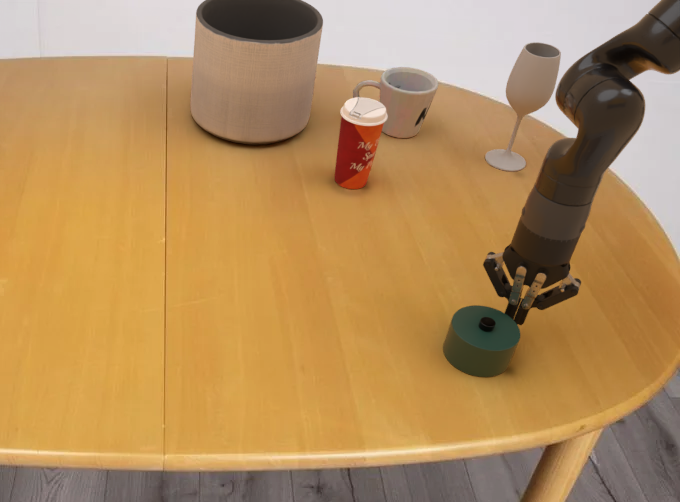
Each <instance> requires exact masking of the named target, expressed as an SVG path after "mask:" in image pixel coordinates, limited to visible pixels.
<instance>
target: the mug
mask: <svg viewBox="0 0 680 502" xmlns="http://www.w3.org/2000/svg"><path fill="white" fill-rule="evenodd" d="M379 81H380V82H379ZM379 81H376V80H374V79H367V80H362V81H360V82H359V83H357V84H356V86H355V87H354V89H353V90H352V98H356V97H360V91H361V90H362V89H363V88H364V87H373V88H376V89H377V90H379V102H380V103H382V104H383V105H384V106H385V108H386V113H387V120H386V121H385V122H384V125H383V128H382V132H381V133H384V134H386V135H387V136H390V137H393V138H398V139H409V138H412V137H415V136H417V135H418V134H419V132H420V130H421V127H422V126H423V123H424V122H425V119H426V116H427V115H428V112H429V110H430V107H431V104H432V102H433V100H434V98H435V96H436V93H437V91H438V88H439V83H440V82H439V81H438V79H437V78H436V76H435V75H433V74H431V73H429V72H428V71H425V70H423V69H420V68H415V67H409V66H398V67H397V66H396V67H390V68H388V69H386V70H385V71H383V72H382V73H381V75H380V80H379Z"/></svg>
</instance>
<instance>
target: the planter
mask: <svg viewBox="0 0 680 502" xmlns="http://www.w3.org/2000/svg"><path fill="white" fill-rule="evenodd" d="M194 26H195V28H194V42H193V44H194V45H193V58H192V72H191V85H190V87H191V88H190V99H189V100H190V104H189V105H190V114H191V117H192V119H193V120H194V122H195V123H196V124H197V125H198V126H199V127H200V128H201V129H202V130H204V131H206V132H207V133H208V134H211V135H213V136H214V137H217V138H219V139H221V140H224V141H228V142H232V143H236V144H242V145H270V144H274V143H278V142H283V141H287V140H288V139H291V138H293V137H295V136H296V135H298V134H300V133H301V132H303V130H305V128H306V127H307V126H308V123H309V121H310V117H311V112H312V106H313V99H314V92H315V82H316V76H317V68H318V61H319V54H320V53H319V52H320V47H321V40H322V35H323V34H322V33H323V27H324V18H323V16H322V14H321V13H320V11H319V10H318V9H317V8H316V7H314V6H313V5H311V4H309V3H308V2H306V1H304V0H204V1H202V2H201V3H200V4H198V7H197V8H196V12H195V25H194Z"/></svg>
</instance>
